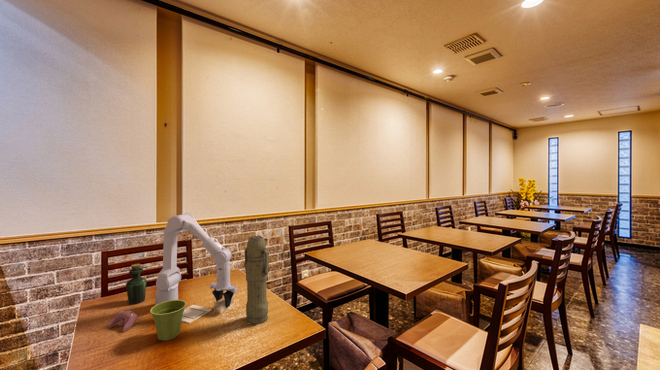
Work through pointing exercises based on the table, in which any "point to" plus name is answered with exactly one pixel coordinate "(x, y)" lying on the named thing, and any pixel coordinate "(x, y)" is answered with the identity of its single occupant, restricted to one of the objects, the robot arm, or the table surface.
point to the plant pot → (168, 318)
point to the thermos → (256, 280)
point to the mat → (194, 313)
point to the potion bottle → (136, 286)
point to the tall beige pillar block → (222, 305)
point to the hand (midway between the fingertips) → (223, 305)
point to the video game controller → (123, 320)
